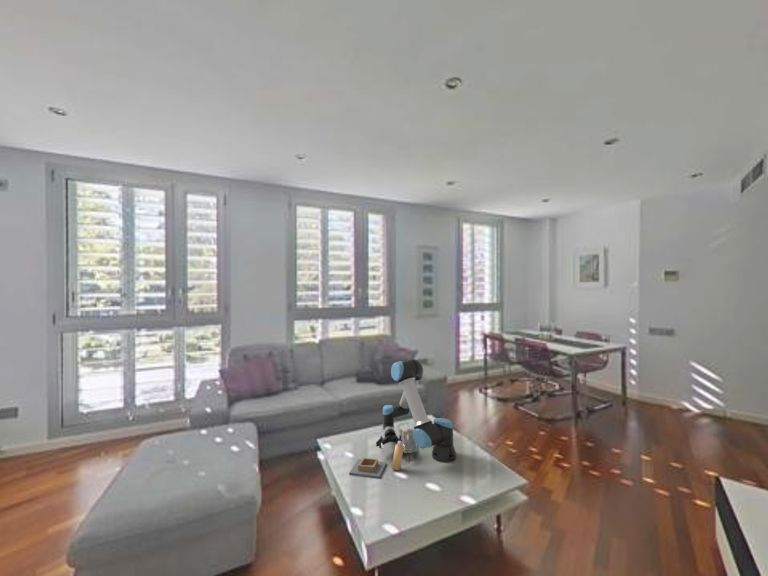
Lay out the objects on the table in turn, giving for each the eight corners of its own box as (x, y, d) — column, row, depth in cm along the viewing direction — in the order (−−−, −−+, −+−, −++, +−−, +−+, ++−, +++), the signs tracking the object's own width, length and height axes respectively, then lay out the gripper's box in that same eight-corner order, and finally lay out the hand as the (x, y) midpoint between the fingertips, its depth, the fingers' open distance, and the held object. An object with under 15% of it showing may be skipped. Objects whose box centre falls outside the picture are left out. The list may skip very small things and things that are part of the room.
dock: (386, 464, 219) (386, 457, 219) (379, 478, 204) (379, 470, 204) (358, 461, 224) (358, 454, 224) (349, 474, 209) (349, 467, 209)
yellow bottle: (402, 469, 213) (405, 442, 215) (396, 470, 209) (400, 443, 212) (395, 466, 216) (399, 439, 219) (390, 467, 213) (394, 440, 215)
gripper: (408, 438, 244) (413, 453, 223) (371, 441, 242) (373, 456, 221) (408, 427, 244) (413, 441, 223) (371, 430, 242) (373, 444, 221)
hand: (393, 449), depth 222 cm, fingers open, 13 cm apart
